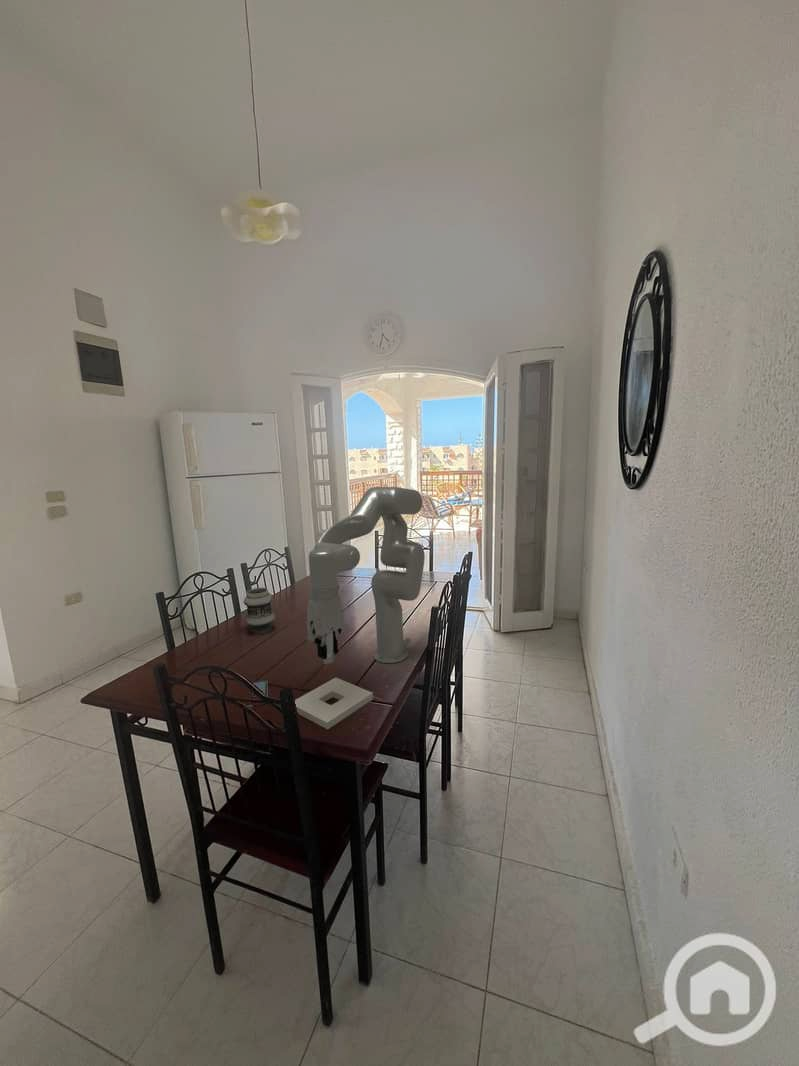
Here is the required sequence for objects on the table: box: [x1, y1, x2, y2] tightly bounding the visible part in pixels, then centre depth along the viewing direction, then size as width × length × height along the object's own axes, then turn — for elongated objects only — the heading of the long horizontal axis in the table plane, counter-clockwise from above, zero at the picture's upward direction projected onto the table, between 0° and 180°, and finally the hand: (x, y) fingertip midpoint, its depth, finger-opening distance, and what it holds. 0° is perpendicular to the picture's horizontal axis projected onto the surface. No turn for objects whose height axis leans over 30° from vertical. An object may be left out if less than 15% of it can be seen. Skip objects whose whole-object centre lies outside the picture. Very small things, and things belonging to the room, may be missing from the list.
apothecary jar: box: [243, 587, 276, 636], centre depth 182 cm, size 12×12×18 cm
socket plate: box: [294, 677, 374, 730], centre depth 125 cm, size 18×16×2 cm
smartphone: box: [248, 679, 269, 708], centre depth 133 cm, size 7×1×15 cm
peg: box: [321, 627, 335, 665], centre depth 122 cm, size 5×5×11 cm
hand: (328, 654), depth 122 cm, fingers closed on peg, 3 cm apart
